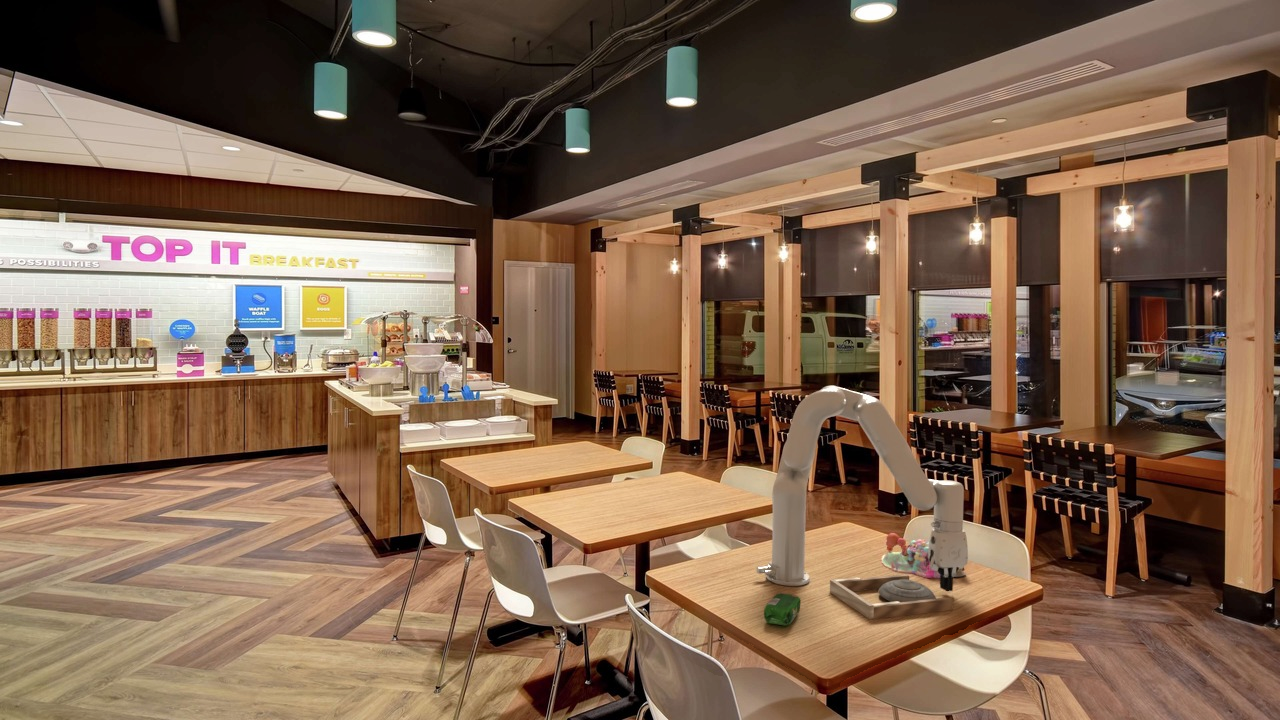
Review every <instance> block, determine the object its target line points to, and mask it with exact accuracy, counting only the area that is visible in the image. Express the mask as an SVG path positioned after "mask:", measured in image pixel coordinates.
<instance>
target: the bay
mask: <svg viewBox="0 0 1280 720" xmlns="http://www.w3.org/2000/svg"><path fill="white" fill-rule="evenodd" d="M901 579H907V580H910V575H909V574H908V573H904V574H897V575H886V576H885V575H884V576H875V577H874V576H873V577H872V576H871V577H862V578H860V577H850V578H840V579H838V578H837V579H829V592H830V593H831V594H832V595H834V596H835V597H836V598H838V599H839V600H840V601H842V602H843V603H845V604H846V605H847V606H849V607H851V608H852V609H853V610H855V611H857V612H858V613H860V614H861V615H863V616H864V617H865V618H867V619H868V620H875V619H883V618H884V619H885V618H892V617H901V616H909V615H910V616H911V615H919V614H927V613H938V612H946V611H953V602H954V601H953V599H954V598H952V597H948V596H946V597H939V598H937V597H936V599H928V600H919V601H909V602H898V601H895V602H891V601H888V602H878V603H877V602H876V603H871V602H869V601H868V600H866V599H864V597H862V596H860V595H858V594H857V593H856V592H858V591H859V592H860V591H862V592H863V591H871V590H879V588H880V587H881V586H882V585H883V584H885V583H887V582H889V581H892V580H901Z"/></svg>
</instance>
